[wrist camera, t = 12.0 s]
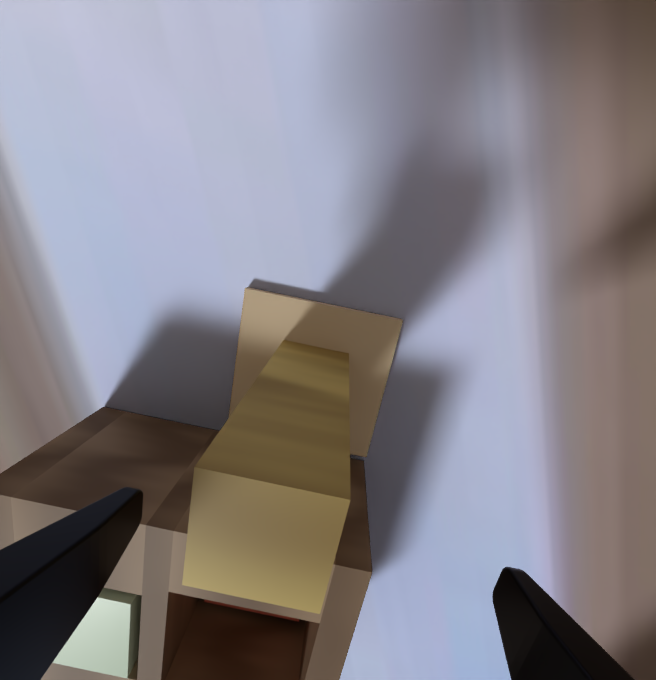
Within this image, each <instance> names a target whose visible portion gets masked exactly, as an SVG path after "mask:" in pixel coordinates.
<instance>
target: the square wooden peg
mask: <svg viewBox="0 0 656 680" xmlns="http://www.w3.org/2000/svg"><path fill="white" fill-rule="evenodd" d="M349 504H350V408H349V353H344V352H340V351H335V350H330V349H325V348H321V347H316V346H311V345H306V344H301V343H297V342H292V341H287V340H283V341H282V343H281V344H280V346H279V347H278V349H277V350H276V351H275V353H274V354H273V356H272V357H271V358H270V360H269V361H268V363H267V364H266V366H265V367H264V368H263V370H262V371H261V373H260V374H259V376H258V377H257V378H256V380H255V381H254V383H253V384H252V386H251V387H250V388H249V390H248V391H247V393H246V394H245V396H244V397H243V398H242V400H241V401H240V403H239V404H238V406H237V407H236V408H235V410H234V411H233V413H232V414H231V415H230V417H229V418H228V420H227V421H226V423H225V424H224V425H223V427H222V428H221V430H220V431H219V433H218V434H217V435H216V437H215V438H214V440H213V441H212V443H211V444H210V445H209V447H208V448H207V450H206V451H205V453H204V454H203V455H202V457H201V458H200V460H199V461H198V463H197V464H196V465H195V467H194V475H193V485H192V494H191V504H190V513H189V523H188V533H187V542H186V552H185V561H184V571H183V580H182V585H184V586H189V587H194V588H199V589H203V590H208V591H213V592H217V593H222V594H227V595H232V596H236V597H241V598H246V599H251V600H255V601H260V602H265V603H269V604H274V605H279V606H284V607H288V608H293V609H298V610H303V611H307V612H312V613H317V614H320V612H321V609H322V605H323V601H324V597H325V594H326V590H327V586H328V582H329V579H330V575H331V571H332V567H333V564H334V560H335V556H336V552H337V549H338V545H339V541H340V537H341V534H342V530H343V526H344V522H345V519H346V515H347V511H348V507H349Z"/></svg>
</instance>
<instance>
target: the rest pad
mask: <svg viewBox="0 0 656 680" xmlns="http://www.w3.org/2000/svg"><path fill="white" fill-rule="evenodd" d="M402 323H403V320H402V319H399V318H394V317H389V316H385V315H380V314H375V313H370V312H365V311H360V310H356V309H351V308H346V307H341V306H336V305H331V304H327V303H322V302H317V301H312V300H307V299H302V298H298V297H293V296H288V295H283V294H278V293H273V292H269V291H264V290H259V289H254V288H249V287H247V288H245V292H244V300H243V308H242V315H241V323H240V331H239V339H238V347H237V354H236V362H235V370H234V378H233V386H232V394H231V401H230V409H229V417H230V415H231V414H232V413H233V411H234V410H235V408H236V407H237V406H238V404H239V403H240V401H241V400H242V398H243V397H244V396H245V394H246V393H247V391H248V390H249V388H250V387H251V386H252V384H253V383H254V381H255V380H256V378H257V377H258V376H259V374H260V373H261V371H262V370H263V368H264V367H265V366H266V364H267V363H268V361H269V360H270V358H271V357H272V356H273V354H274V353H275V351H276V350H277V349H278V347H279V346H280V344H281V343H282V341H283V340H287V341H292V342H297V343H301V344H306V345H311V346H316V347H321V348H325V349H330V350H335V351H340V352H344V353H349V408H350V454H353V455H357V456H362V457H367V453H368V450H369V446H370V442H371V438H372V435H373V431H374V427H375V423H376V420H377V416H378V412H379V409H380V405H381V401H382V397H383V394H384V390H385V386H386V382H387V379H388V375H389V371H390V367H391V364H392V360H393V356H394V352H395V349H396V345H397V341H398V338H399V334H400V330H401V326H402ZM229 417H228V418H229Z"/></svg>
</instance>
